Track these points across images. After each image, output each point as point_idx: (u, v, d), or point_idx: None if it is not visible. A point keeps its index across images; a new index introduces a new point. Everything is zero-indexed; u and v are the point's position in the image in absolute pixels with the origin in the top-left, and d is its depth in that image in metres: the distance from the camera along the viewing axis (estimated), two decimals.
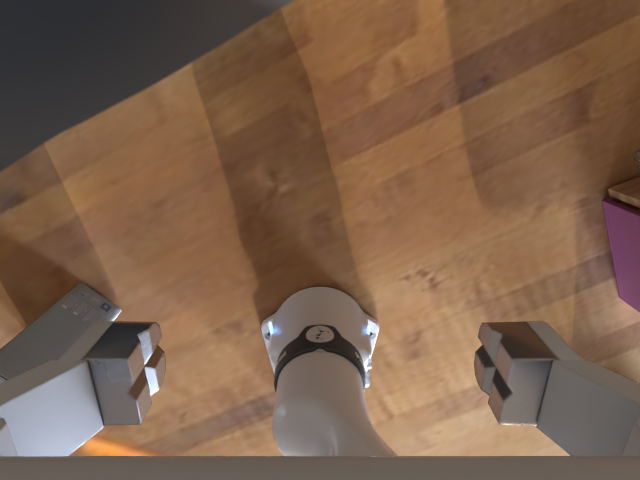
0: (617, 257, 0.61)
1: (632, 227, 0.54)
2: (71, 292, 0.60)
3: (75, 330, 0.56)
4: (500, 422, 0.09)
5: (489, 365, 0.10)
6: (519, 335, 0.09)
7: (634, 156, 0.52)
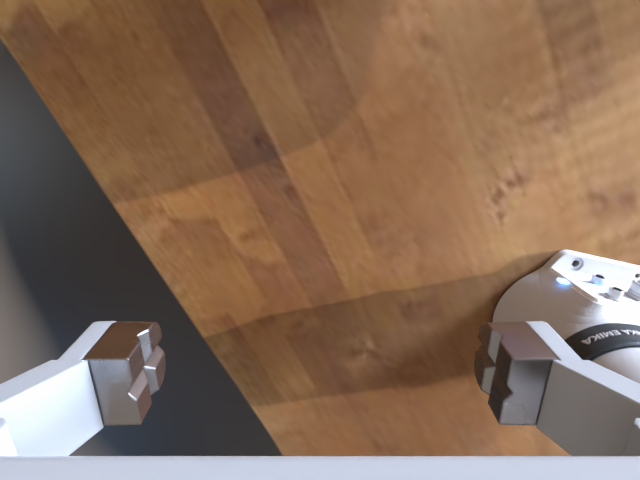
0: None
1: None
2: None
3: None
4: (500, 422, 0.09)
5: (489, 365, 0.10)
6: (519, 335, 0.09)
7: None
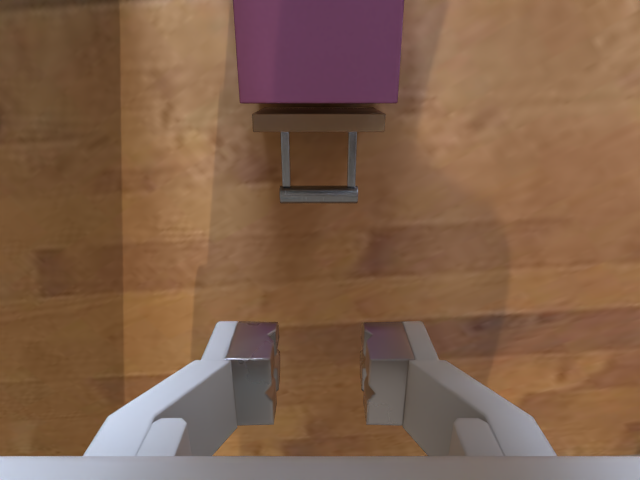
0: None
1: None
2: None
3: None
4: (368, 423, 0.09)
5: (366, 365, 0.10)
6: (388, 335, 0.09)
7: None
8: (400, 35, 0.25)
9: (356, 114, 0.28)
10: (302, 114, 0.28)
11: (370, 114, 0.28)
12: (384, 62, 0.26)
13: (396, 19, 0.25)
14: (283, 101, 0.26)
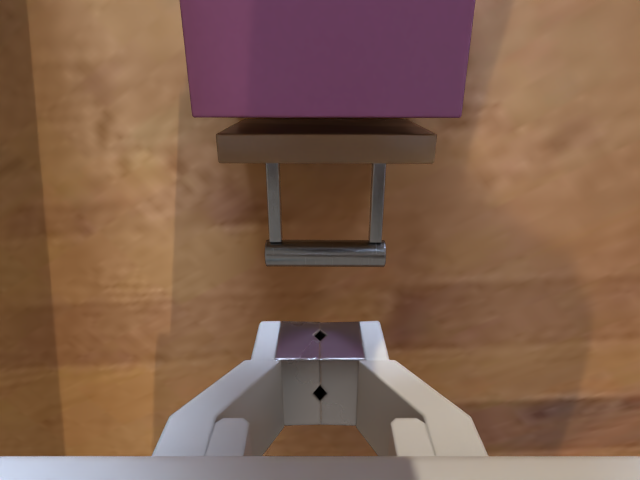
0: None
1: None
2: None
3: None
4: (322, 422, 0.09)
5: None
6: (343, 335, 0.09)
7: None
8: None
9: (388, 135, 0.17)
10: (299, 135, 0.17)
11: (412, 135, 0.17)
12: (442, 47, 0.15)
13: None
14: (266, 114, 0.15)
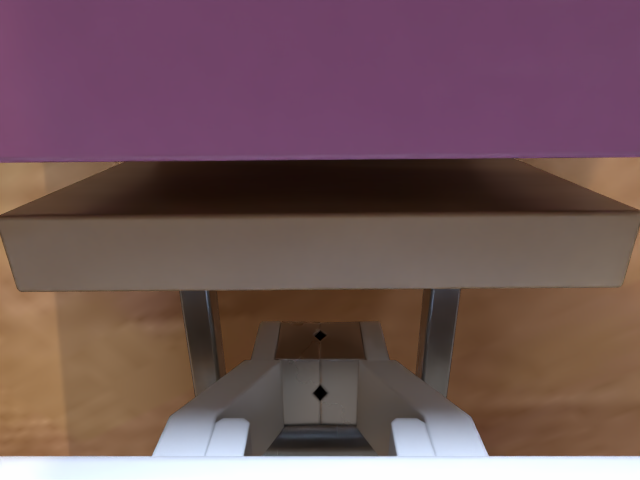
0: None
1: None
2: None
3: None
4: (322, 422, 0.09)
5: None
6: (343, 335, 0.09)
7: None
8: None
9: (503, 215, 0.06)
10: (239, 217, 0.06)
11: (571, 215, 0.06)
12: None
13: None
14: (107, 152, 0.04)
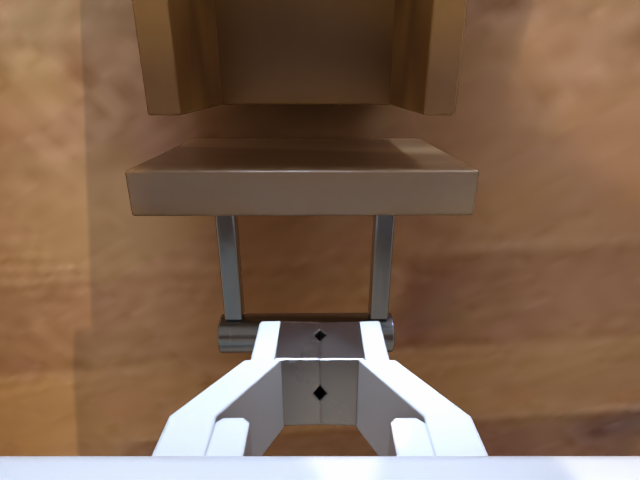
0: None
1: None
2: None
3: None
4: (322, 422, 0.09)
5: None
6: (343, 335, 0.09)
7: None
8: None
9: (403, 172, 0.10)
10: (259, 172, 0.10)
11: (440, 172, 0.10)
12: None
13: None
14: None
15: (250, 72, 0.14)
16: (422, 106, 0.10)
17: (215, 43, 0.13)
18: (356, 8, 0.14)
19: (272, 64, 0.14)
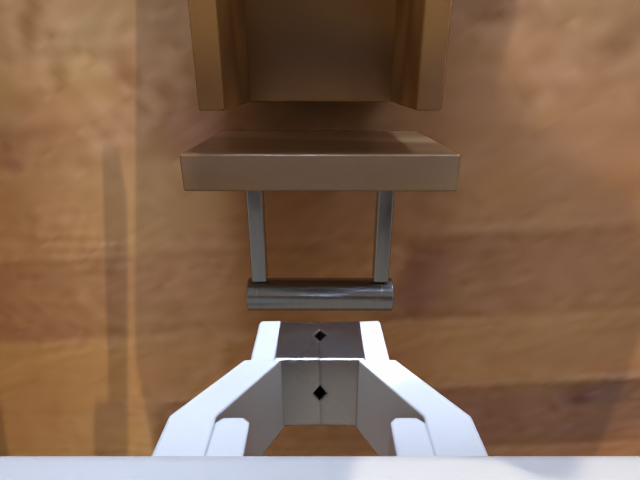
0: None
1: None
2: None
3: None
4: (322, 422, 0.09)
5: None
6: (343, 335, 0.09)
7: None
8: None
9: (399, 156, 0.13)
10: (285, 156, 0.13)
11: (429, 156, 0.13)
12: None
13: None
14: None
15: (273, 74, 0.17)
16: (415, 103, 0.13)
17: (245, 50, 0.16)
18: (363, 21, 0.16)
19: (292, 67, 0.17)
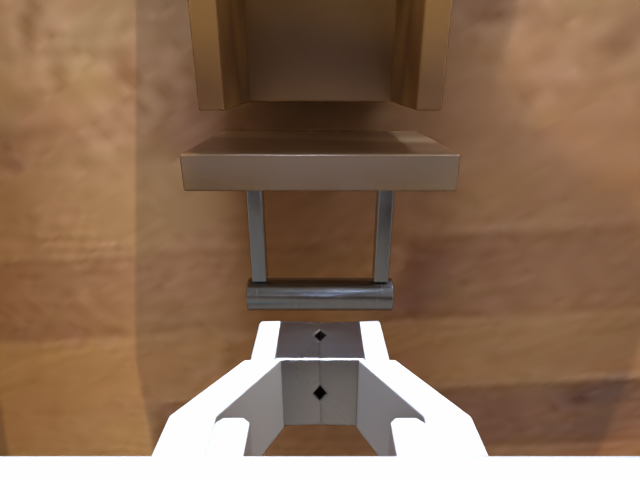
0: None
1: None
2: None
3: None
4: (322, 422, 0.09)
5: None
6: (343, 335, 0.09)
7: None
8: None
9: (399, 156, 0.13)
10: (285, 156, 0.13)
11: (429, 156, 0.13)
12: None
13: None
14: None
15: (273, 74, 0.17)
16: (415, 103, 0.13)
17: (245, 50, 0.16)
18: (363, 20, 0.16)
19: (292, 67, 0.17)
